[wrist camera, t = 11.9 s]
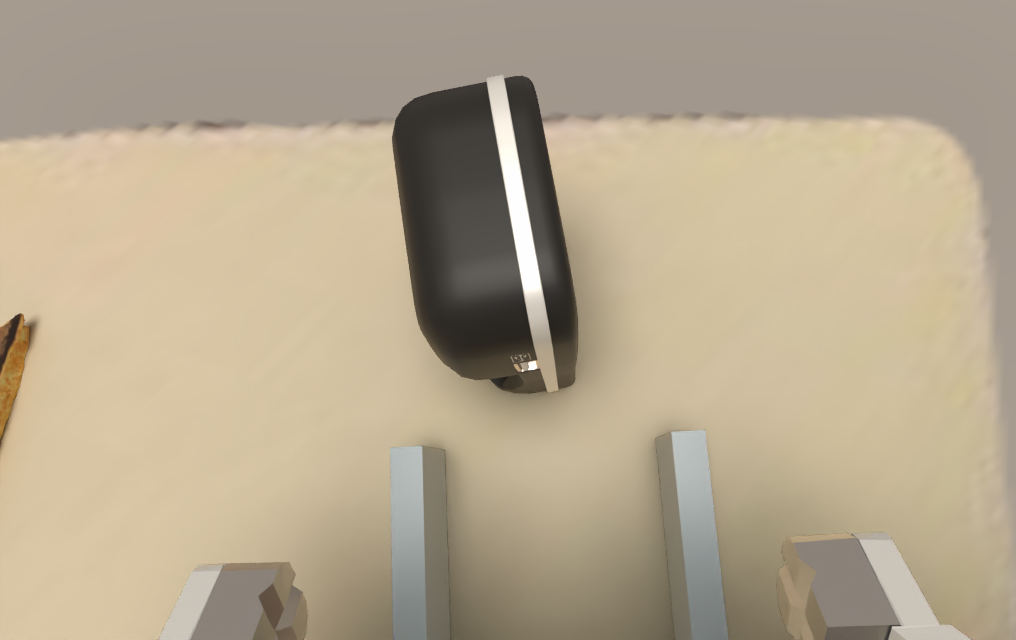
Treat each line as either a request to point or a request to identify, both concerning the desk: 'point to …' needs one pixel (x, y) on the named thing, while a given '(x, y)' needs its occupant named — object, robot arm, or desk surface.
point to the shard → (11, 363)
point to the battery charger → (487, 235)
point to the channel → (426, 540)
